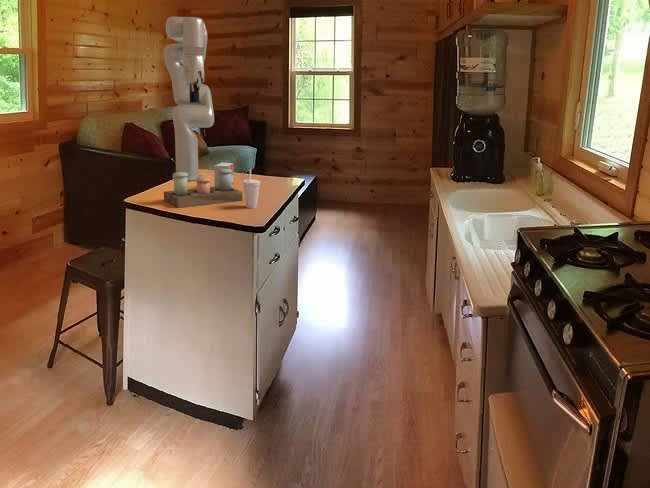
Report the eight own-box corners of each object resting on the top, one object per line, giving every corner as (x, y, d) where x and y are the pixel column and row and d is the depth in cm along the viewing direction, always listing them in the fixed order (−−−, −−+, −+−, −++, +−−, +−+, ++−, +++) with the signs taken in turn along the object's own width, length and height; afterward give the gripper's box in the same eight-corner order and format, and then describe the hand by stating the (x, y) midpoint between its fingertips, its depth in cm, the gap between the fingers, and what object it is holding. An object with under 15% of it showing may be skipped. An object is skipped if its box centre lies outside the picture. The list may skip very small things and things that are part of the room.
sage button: (171, 193, 230) (170, 172, 228) (184, 192, 233) (184, 171, 231) (177, 196, 226) (176, 175, 223) (191, 195, 229) (190, 174, 227)
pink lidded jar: (193, 198, 236) (193, 178, 234) (206, 197, 239) (206, 176, 237) (200, 201, 232) (199, 180, 229) (213, 199, 235) (213, 179, 233)
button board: (164, 200, 233) (163, 191, 232) (226, 193, 248) (226, 185, 247) (178, 208, 223) (178, 198, 222) (242, 200, 238) (242, 191, 237)
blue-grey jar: (215, 189, 240) (215, 169, 238) (227, 188, 243) (227, 168, 241) (221, 192, 236) (221, 171, 234) (234, 190, 239) (234, 170, 237)
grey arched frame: (227, 192, 251) (227, 166, 248) (214, 191, 252) (214, 165, 249) (234, 188, 259) (234, 163, 256) (221, 187, 260) (221, 162, 257)
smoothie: (244, 204, 232) (244, 167, 228) (261, 205, 232) (261, 168, 228) (241, 208, 226) (241, 170, 222) (259, 209, 226) (259, 171, 222)
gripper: (175, 51, 237) (177, 100, 243) (192, 52, 226) (193, 104, 231) (194, 52, 241) (195, 100, 247) (211, 53, 230) (212, 103, 235)
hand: (194, 102), depth 239 cm, fingers closed
